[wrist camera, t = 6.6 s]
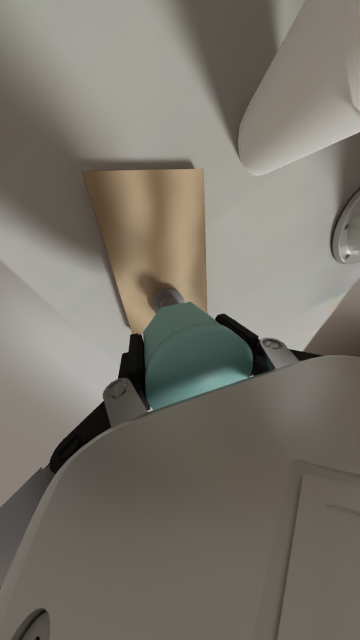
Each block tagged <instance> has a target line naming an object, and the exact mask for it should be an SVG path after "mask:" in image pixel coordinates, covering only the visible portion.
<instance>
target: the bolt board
mask: <svg viewBox="0 0 360 640" xmlns="http://www.w3.org/2000/svg"><path fill="white" fill-rule="evenodd" d="M82 174H83V177H84V181H85V184H86V187H87V190H88V193H89V197H90V200H91V203H92V206H93V209H94V213H95V216H96V219H97V222H98V225H99V229H100V232H101V235H102V238H103V241H104V245H105V248H106V251H107V254H108V257H109V261H110V264H111V267H112V270H113V273H114V277H115V280H116V283H117V286H118V290H119V293H120V296H121V299H122V302H123V306H124V309H125V312H126V315H127V318H128V322H129V325H130V328H131V331H132V334H136V333H138V334H142V333H143V331H144V330H145V329H146V327H147V326H148V324H149V323H150V322H151V320H152V319H153V317H154V316H155V315H156V313H157V312H158V311H159V309H160V308H161V307H166V306H171V305H176V304H181V303H186V302H192V303H193V304H195V305H196V306H197V307H199V308H200V309H201V310H203V311H204V312H205V313H207V282H206V243H205V204H204V169H166V170H117V171H82Z"/></svg>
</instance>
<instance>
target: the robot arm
mask: <svg viewBox="0 0 360 640" xmlns="http://www.w3.org/2000/svg"><path fill="white" fill-rule="evenodd" d="M332 246H333V254H334V257H335V258H336V260H337V261H338V262H340V263H343V264H355V263H358V262H360V190H359V191H358V192H357V193H356V194H355V195H354V196H353V197H352V199H351V200H350V202H349V203H348V204H347V206H346V208H345V209H344V211H343V213H342V215H341V217H340V219H339V221H338V223H337V226H336V229H335V232H334V237H333V245H332ZM215 320H216V321H217V322H218V323H219V324H220V325H223V326H225V327H227V328H229V329H230V330H232V331H233V332H234V333H235V334H237V335H238V336H239V337H240V338H242V339H243V340H244V341H245V342H246V343H247V344H248V346H249V347H250V349H251V351H252V355H253V367H252V371H251V374H250V376H252V375H253V377H250V378H247V379H244V380H241V381H238V382H235V383H232V384H229V385H226V386H223V387H220V388H217V389H214V390H211V391H208V392H205V393H202V394H199V395H196V396H193V397H190V398H187V399H184V400H181V401H178V402H175V403H173V404H170V405H167V406H164V407H161V408H158V409H156V410H153V411H150V412H147V411H148V410H150V405H149V403H148V401H147V398H146V388H145V357H144V342H143V339H142V335H141V334H138V333H136V334H131V335H130V344H129V352H127V353H123V354H122V358H121V364H120V370H119V375H118V379H117V380H115V381H113V382H111V383H110V384H109V385H108V386H107V387H106V389H105V390H104V392H103V399H104V401H103V402H102V403H101V404H100V405H99V406H98V407H97V408H96V409H95V410H94V411H93V412H92V413H91V414H90V415H88V416H87V417H86V418H85V419H84V420H83V421H82V422H81V423H80V424H79V425H78V426H77V427H76V428H75V429H74V430H73V431H72V432H71V433H70V434H69V435H68V436H67V437H66V438H65V439H63V441H62V442H61V443H60V444H59V445H58V446H57V448H56V449H55V451H54V453H53V455H52V457H51V459H50V463H49V464H48V465H47V466H46V467H45V468H44V469H43V468H42V467H41V468H40V469H39V470H38V471H37V472H36V473H35V474H34V475H33V476H32V477H31V478H30V479H29V480H28V481H27V482H26V483H25V484H24V485H23V486H22V487H21V488H20V489H19V490H18V491H17V492H16V493H14V495H12V497H10V498H9V500H7V502H6V503H5V504H3V505H2V507H0V640H360V358H359V357H353V356H337V355H336V356H335V355H333V356H322V355H316V354H311V353H306V352H301V351H296V350H291V349H288V348H287V346H286V345H285V344H284V343H283V342H281V341H279V340H277V339H274V338H263V339H261V340H259V339H258V336H257V335H256V334H254V333H253V332H251V331H250V330H248V329H247V328H245V327H244V326H242V325H241V324H239V323H238V322H236V321H235V320H233V319H232V318H230V317H229V316H227V315H226V314H220V315H217V317H216V318H215Z"/></svg>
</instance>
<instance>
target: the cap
mask: <svg viewBox="0 0 360 640" xmlns="http://www.w3.org/2000/svg"><path fill="white" fill-rule="evenodd" d="M143 337H144V357H145V388H146V398H147V401H148V403H149V405H150V406H151V408H152V409H153V410H156V409H158V408H161V407H164V406H167V405H170V404H173V403H175V402H178V401H181V400H184V399H187V398H190V397H193V396H196V395H199V394H202V393H205V392H208V391H211V390H214V389H217V388H220V387H223V386H226V385H229V384H232V383H235V382H238V381H241V380H244V379H247V378H249V377H250V374H251V371H252V367H253V355H252V351H251V349H250V347H249V346H248V344H247V343H246V342H245V341H244V340H243V339H242V338H240V337H239V336H238V335H237V334H235V333H234V332H233V331H232V330H230V329H229V328H227V327H225V326H223V325H220V324H219V323H218V322H217V321H216V320H214V319H213V318H212V317H211V316H209V315H208V314H207V313H205V312H204V311H203V310H201V309H200V308H199V307H197V306H196V305H195V304H193V303H192V302H186V303H181V304H176V305H171V306H166V307H161V308H160V309H159V311H158V312H157V313H156V315H155V316H154V317H153V319H152V320H151V322H150V323H149V324H148V326H147V327H146V329H145V330H144V331H143Z"/></svg>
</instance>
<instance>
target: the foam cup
mask: <svg viewBox="0 0 360 640" xmlns="http://www.w3.org/2000/svg"><path fill="white" fill-rule="evenodd" d="M359 132H360V0H305V2H304V4H303V6H302V8H301V10H300V11H299V13H298V15H297V17H296V19H295V21H294V22H293V24H292V26H291V28H290V30H289V32H288V33H287V35H286V37H285V39H284V41H283V43H282V44H281V46H280V48H279V50H278V52H277V53H276V55H275V57H274V59H273V61H272V63H271V64H270V66H269V68H268V70H267V72H266V74H265V75H264V77H263V79H262V81H261V83H260V85H259V86H258V88H257V90H256V92H255V94H254V96H253V97H252V99H251V101H250V103H249V106H248V107H247V109H246V111H245V113H244V116H243V118H242V120H241V123H240V126H239V134H238V142H237V144H238V150H239V157H240V161H241V162H242V164H243V166H244V168H245V169H246V171H247V172H249V173H251V174H253V175H255V176H258V175H263V174H266V173H269V172H271V171H274V170H276V169H278V168H280V167H283V166H285V165H287V164H289V163H292V162H294V161H296V160H298V159H301V158H303V157H305V156H307V155H309V154H312V153H314V152H316V151H318V150H321V149H323V148H325V147H327V146H330V145H332V144H334V143H336V142H339V141H341V140H343V139H345V138H348V137H350V136H352V135H354V134H357V133H359Z"/></svg>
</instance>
